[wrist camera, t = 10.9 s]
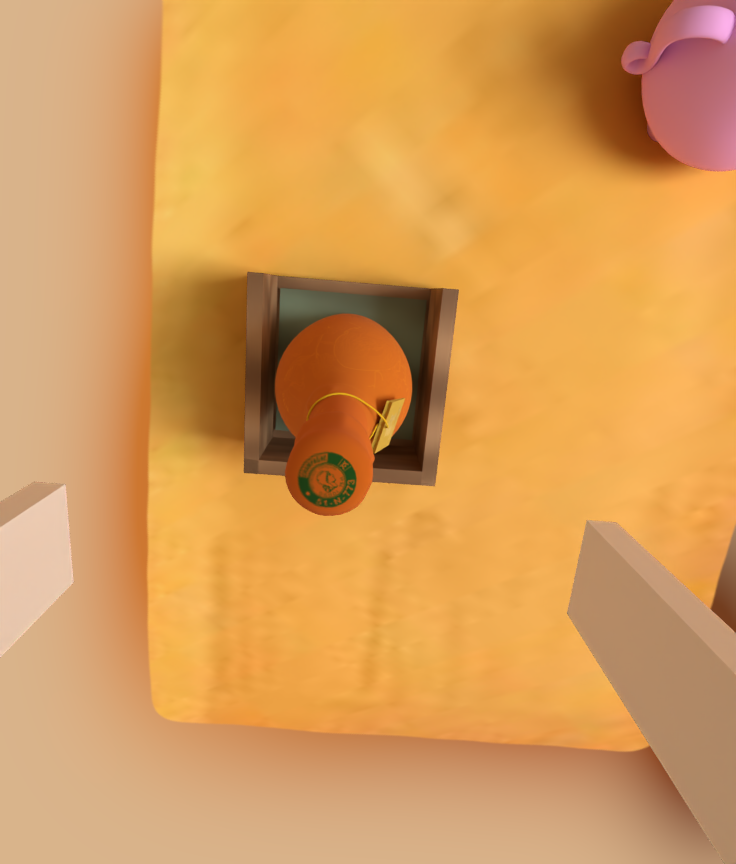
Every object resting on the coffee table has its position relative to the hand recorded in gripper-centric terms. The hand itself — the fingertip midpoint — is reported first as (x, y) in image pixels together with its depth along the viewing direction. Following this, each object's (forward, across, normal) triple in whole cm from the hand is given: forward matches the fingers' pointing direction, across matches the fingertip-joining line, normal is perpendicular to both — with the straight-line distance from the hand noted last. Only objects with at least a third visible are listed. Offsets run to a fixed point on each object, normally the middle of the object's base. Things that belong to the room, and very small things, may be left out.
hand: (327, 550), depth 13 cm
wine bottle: (+36, 0, -1) cm, 36 cm away
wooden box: (+37, 0, -1) cm, 37 cm away
